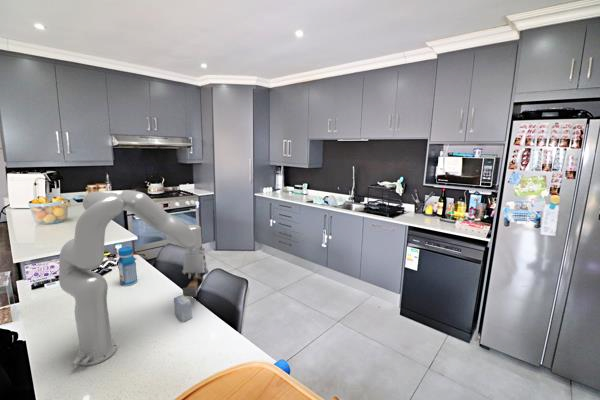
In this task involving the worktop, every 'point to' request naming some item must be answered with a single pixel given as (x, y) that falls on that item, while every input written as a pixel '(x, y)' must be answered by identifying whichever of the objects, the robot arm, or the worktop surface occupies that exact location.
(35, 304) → the worktop surface
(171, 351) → the worktop surface
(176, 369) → the worktop surface
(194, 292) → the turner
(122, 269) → the beverage bottle
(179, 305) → the medicine box
